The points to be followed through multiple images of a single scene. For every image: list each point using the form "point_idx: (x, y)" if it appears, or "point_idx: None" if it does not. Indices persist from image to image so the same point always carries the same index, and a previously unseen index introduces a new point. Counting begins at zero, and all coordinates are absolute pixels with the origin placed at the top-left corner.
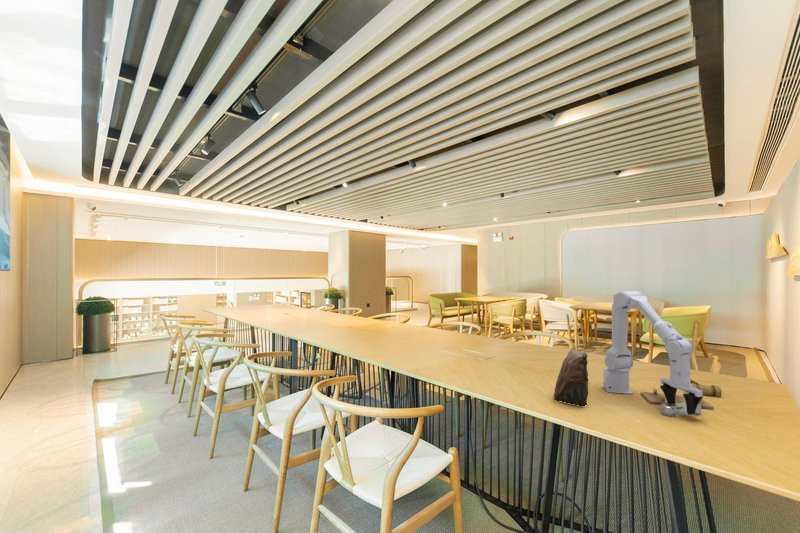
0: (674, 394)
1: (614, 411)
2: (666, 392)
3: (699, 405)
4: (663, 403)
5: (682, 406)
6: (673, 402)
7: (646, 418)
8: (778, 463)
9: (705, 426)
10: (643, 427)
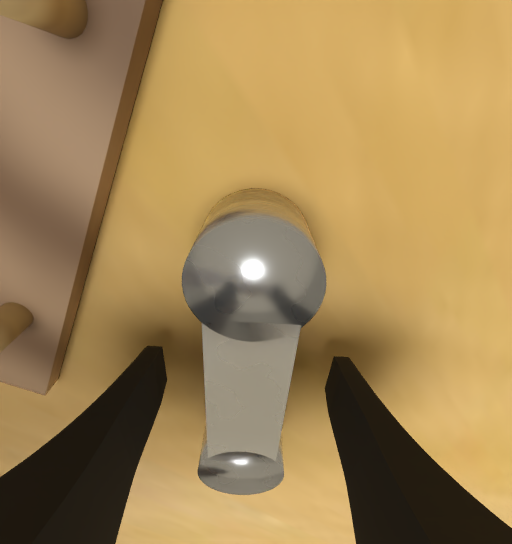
0: (109, 451)
1: (173, 526)
2: (115, 540)
3: (307, 265)
4: (65, 332)
5: (278, 418)
6: (153, 380)
7: (261, 495)
8: None
9: (447, 375)
10: (325, 534)
